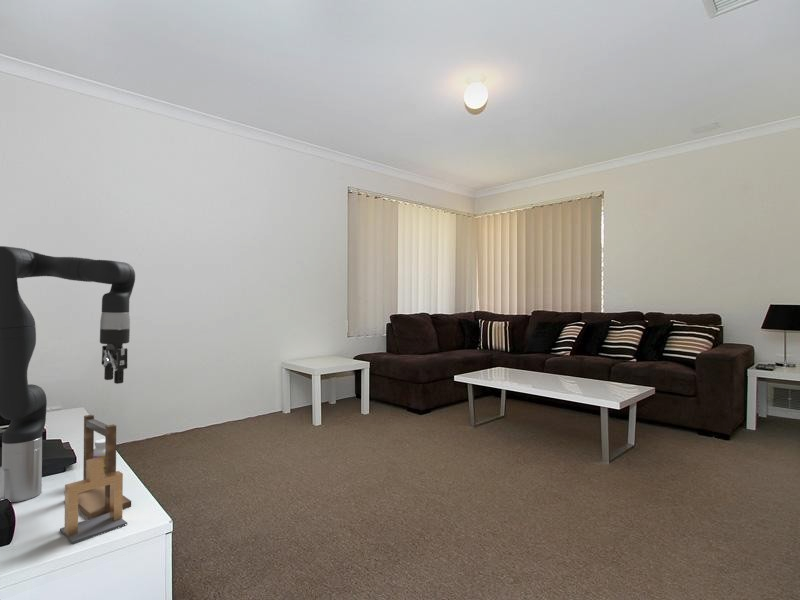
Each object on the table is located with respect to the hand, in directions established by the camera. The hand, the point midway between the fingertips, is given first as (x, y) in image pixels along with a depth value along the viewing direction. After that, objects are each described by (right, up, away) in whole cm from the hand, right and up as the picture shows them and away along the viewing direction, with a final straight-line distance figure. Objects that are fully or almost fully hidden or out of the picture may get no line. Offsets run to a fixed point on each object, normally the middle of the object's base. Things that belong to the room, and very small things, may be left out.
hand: (113, 381), depth 133 cm
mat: (+7, -35, -18) cm, 40 cm away
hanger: (+7, -34, -18) cm, 39 cm away
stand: (-2, -35, -3) cm, 35 cm away
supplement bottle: (-13, -35, +14) cm, 40 cm away
